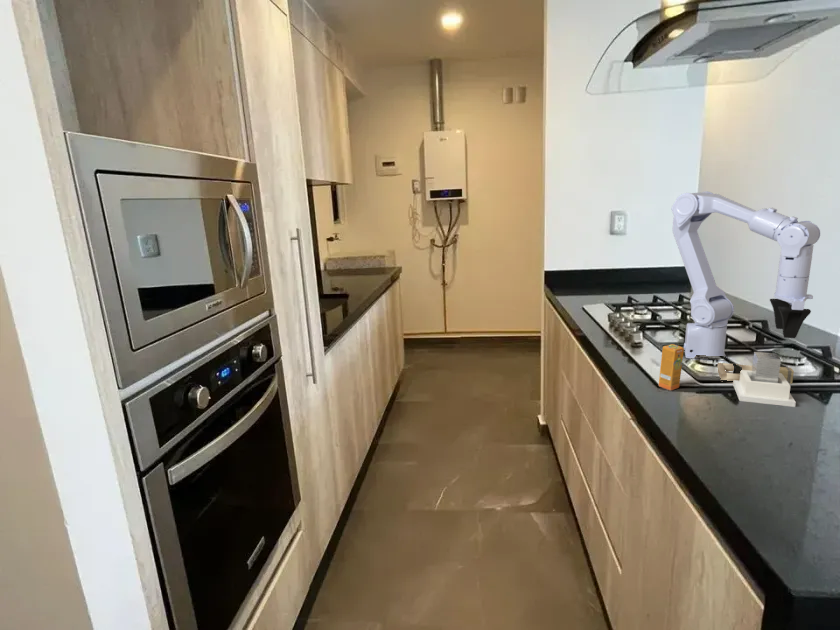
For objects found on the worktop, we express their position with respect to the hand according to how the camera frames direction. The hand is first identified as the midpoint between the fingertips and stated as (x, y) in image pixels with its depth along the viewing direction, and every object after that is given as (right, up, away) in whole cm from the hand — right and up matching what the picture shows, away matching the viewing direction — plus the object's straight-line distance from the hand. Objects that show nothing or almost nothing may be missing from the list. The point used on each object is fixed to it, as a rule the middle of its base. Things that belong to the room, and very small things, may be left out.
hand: (785, 333), depth 112 cm
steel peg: (-11, -12, -8) cm, 19 cm away
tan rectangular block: (-3, -11, -1) cm, 11 cm away
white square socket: (-11, -13, -8) cm, 19 cm away
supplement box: (-28, -13, -1) cm, 31 cm away
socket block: (-10, -11, +2) cm, 15 cm away
